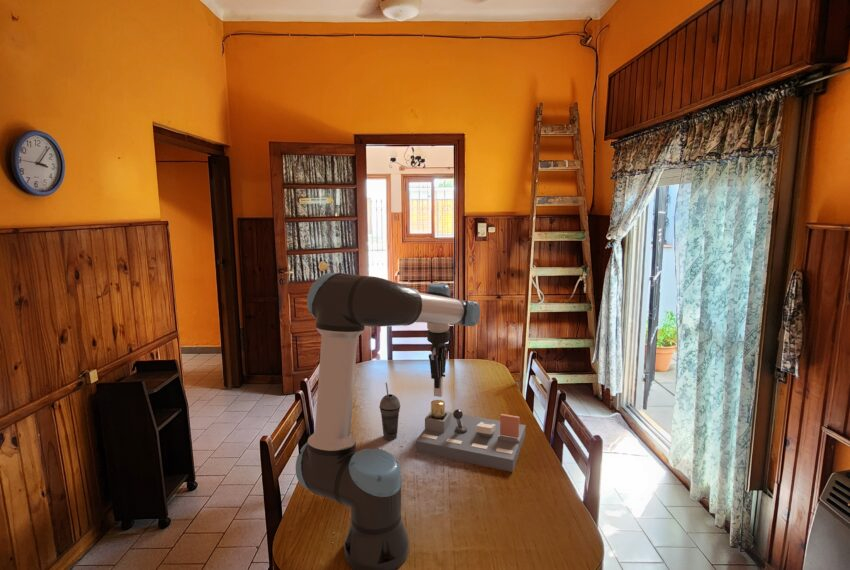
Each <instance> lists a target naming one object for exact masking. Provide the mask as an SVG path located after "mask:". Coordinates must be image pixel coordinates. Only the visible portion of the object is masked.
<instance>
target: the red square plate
mask: <svg viewBox="0 0 850 570" xmlns="http://www.w3.org/2000/svg"><path fill="white" fill-rule="evenodd" d="M499 421H500V435H504V436H509V437H515V438H518V437H519V424H520V416H518V415H510V414H507V413H506V414H505V413H501V414H500V420H499Z"/></svg>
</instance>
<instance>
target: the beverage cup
mask: <svg viewBox="0 0 850 570" xmlns="http://www.w3.org/2000/svg"><path fill="white" fill-rule="evenodd" d="M388 387H389V386H388V382H385V388H386V394H385V395H384V396H383V397H382V398H381V400H380V402H379V407H378V408H379V411H380V415H381V416H380V417H381V423H382V424H381V425H382V434H383V438H384V440H385V441H394V440H396V439H397V437H398V430H399V429H398V428H399V427H398V426H399V418H400V417H399V416H400V415H399V414H400V410H401V402H400V400H399V398H398V396H396V395H394V394H391V393H389V389H388Z"/></svg>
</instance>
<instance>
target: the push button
mask: <svg viewBox="0 0 850 570" xmlns="http://www.w3.org/2000/svg"><path fill="white" fill-rule="evenodd" d="M430 412H431V418H432V419H438V420H443V419H444V418H445V412H446V401H444V400H442V399H433V400H432V401H430Z"/></svg>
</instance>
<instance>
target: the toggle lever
mask: <svg viewBox="0 0 850 570" xmlns="http://www.w3.org/2000/svg"><path fill="white" fill-rule="evenodd" d="M452 413H453V416H454V418H455V419H456V420H457V424H458V428H461V429H462V428H463V421H462V416H463V415H464V413H463V411H462V410H461V409H455V410H454V411H453V412H452Z"/></svg>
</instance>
